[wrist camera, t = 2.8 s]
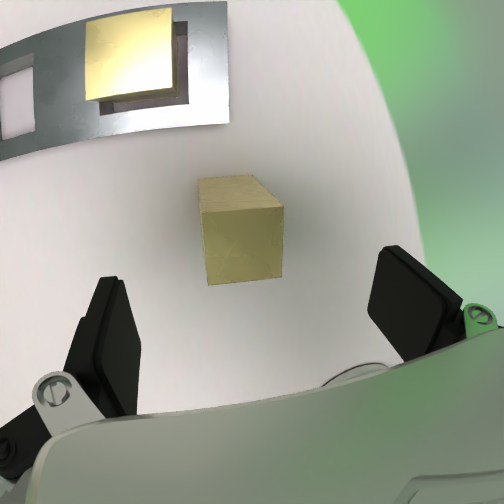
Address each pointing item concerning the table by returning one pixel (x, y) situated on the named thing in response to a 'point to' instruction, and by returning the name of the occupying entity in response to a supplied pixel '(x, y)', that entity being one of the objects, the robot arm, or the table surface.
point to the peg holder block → (121, 73)
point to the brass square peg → (240, 230)
